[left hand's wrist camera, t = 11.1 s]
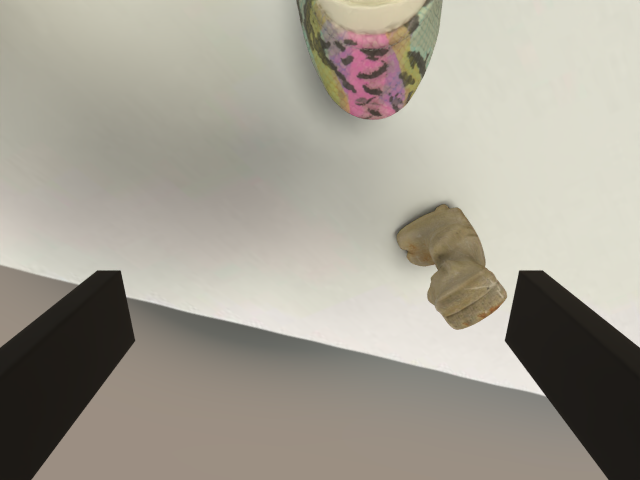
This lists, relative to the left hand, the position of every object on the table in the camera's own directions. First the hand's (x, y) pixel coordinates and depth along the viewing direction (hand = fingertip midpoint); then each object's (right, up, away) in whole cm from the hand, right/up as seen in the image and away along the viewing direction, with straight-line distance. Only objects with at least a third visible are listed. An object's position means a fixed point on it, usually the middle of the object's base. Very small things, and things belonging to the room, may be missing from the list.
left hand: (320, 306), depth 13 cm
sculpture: (+12, +3, +29) cm, 32 cm away
